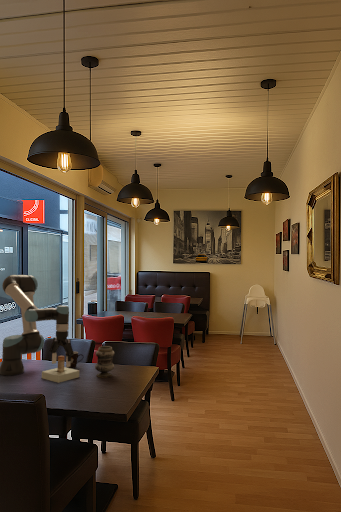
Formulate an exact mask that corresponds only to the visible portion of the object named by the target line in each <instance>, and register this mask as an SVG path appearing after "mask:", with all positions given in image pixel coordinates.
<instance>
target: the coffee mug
mask: <svg viewBox="0 0 341 512" xmlns="http://www.w3.org/2000/svg"><path fill="white" fill-rule="evenodd" d="M73 353H74V355H72V356H71V361H70V367H66V368H71V369H75V367H76V368H77V364H78V363H80V362H81V361H83V359H84V357H85V356H84V355H83V354H81V353H80V354H79V352H78V351H74V350H73ZM66 356H67V354H66V353H65V357H66ZM80 356H82V358H81V359H80V360H78V358H79V357H80Z"/></svg>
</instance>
